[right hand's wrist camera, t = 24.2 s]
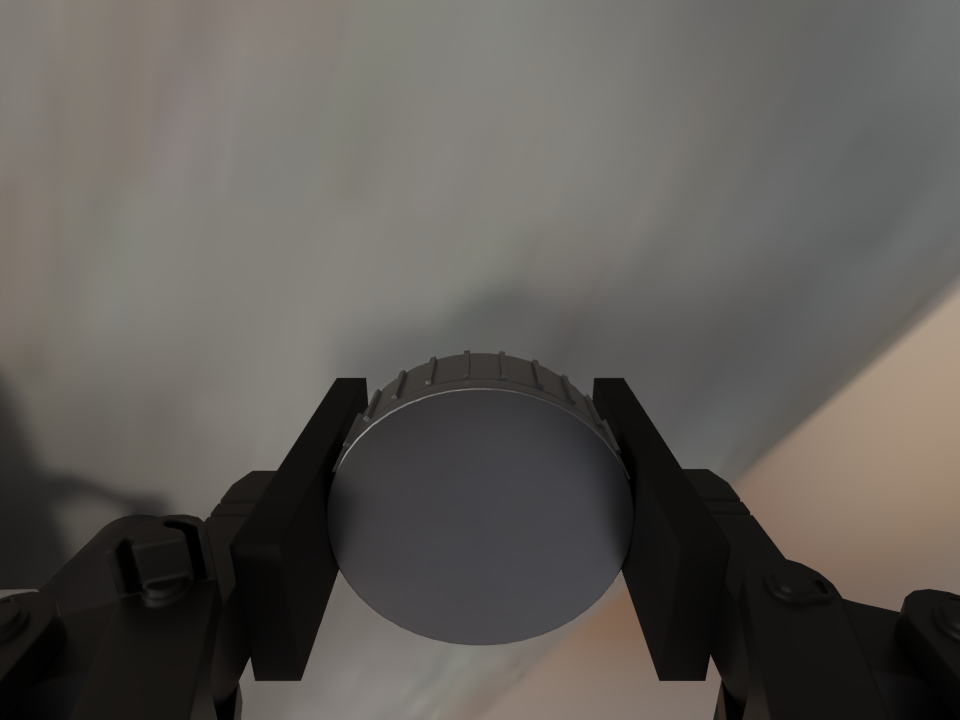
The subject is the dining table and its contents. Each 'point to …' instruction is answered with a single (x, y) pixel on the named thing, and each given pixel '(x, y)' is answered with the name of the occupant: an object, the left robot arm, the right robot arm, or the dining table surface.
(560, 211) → the dining table surface
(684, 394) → the dining table surface
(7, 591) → the left robot arm
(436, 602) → the lid
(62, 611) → the bottle
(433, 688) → the dining table surface
